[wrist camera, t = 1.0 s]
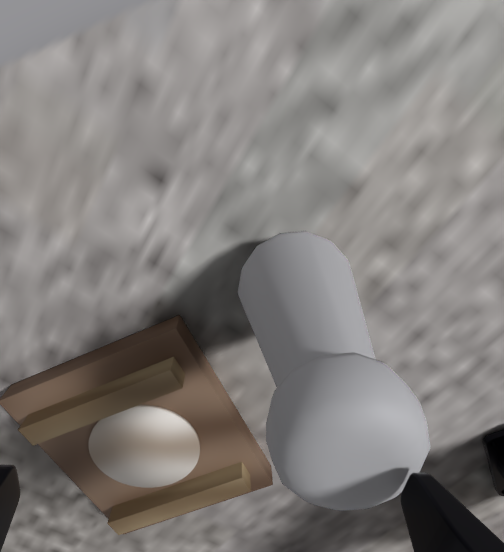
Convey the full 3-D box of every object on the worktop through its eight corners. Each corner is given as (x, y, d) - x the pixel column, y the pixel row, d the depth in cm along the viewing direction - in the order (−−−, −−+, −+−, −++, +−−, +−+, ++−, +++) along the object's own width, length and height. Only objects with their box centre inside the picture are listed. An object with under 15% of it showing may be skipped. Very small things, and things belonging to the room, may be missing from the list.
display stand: (270, 466, 27) (274, 501, 25) (128, 514, 29) (118, 551, 27) (179, 314, 22) (172, 340, 20) (11, 384, 24) (-15, 416, 21)
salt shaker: (269, 329, 23) (304, 570, 11) (218, 253, 21) (191, 448, 9) (357, 284, 22) (503, 495, 10) (313, 199, 20) (430, 337, 8)
